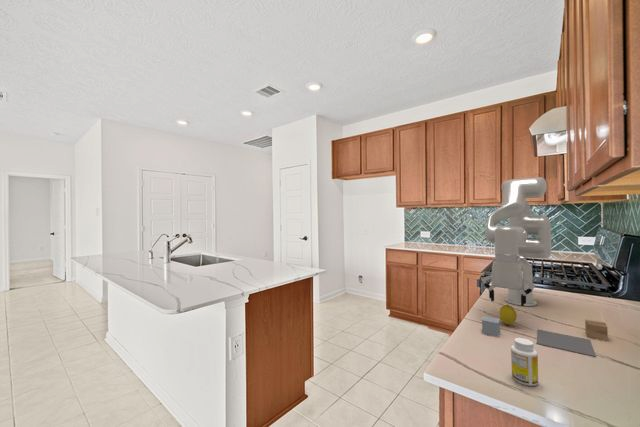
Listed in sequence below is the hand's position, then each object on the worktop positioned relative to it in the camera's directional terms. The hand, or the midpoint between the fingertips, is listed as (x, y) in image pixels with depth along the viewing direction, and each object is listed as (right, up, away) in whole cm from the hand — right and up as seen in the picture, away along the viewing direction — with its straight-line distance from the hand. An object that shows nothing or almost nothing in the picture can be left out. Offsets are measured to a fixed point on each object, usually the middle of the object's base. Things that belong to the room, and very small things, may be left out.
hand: (507, 302), depth 107 cm
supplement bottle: (-19, -9, -35) cm, 41 cm away
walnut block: (+24, -9, -11) cm, 27 cm away
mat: (+9, -9, -14) cm, 19 cm away
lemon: (+1, -9, 0) cm, 9 cm away
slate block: (-10, -9, -6) cm, 15 cm away
